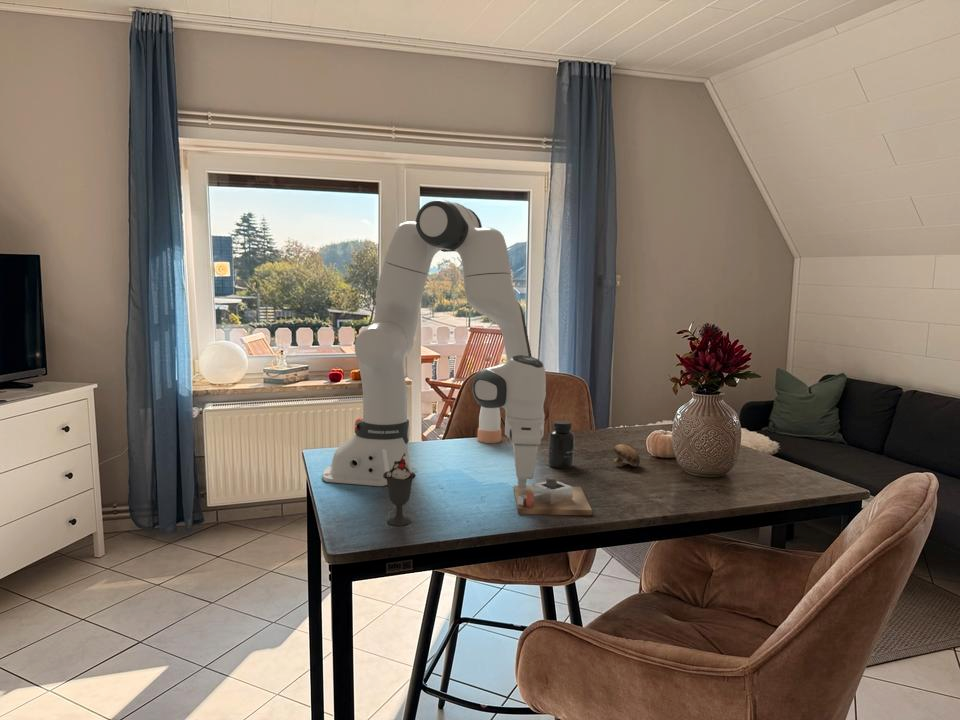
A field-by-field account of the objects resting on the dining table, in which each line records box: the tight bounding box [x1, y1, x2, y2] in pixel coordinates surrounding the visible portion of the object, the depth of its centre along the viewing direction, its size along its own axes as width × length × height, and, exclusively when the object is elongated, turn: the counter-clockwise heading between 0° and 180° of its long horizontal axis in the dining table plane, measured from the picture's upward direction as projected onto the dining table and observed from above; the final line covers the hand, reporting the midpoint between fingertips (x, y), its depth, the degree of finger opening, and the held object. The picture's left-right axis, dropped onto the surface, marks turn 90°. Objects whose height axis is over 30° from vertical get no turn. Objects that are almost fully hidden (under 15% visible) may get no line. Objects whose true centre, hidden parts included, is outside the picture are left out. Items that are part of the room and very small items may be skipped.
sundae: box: [383, 453, 417, 527], centre depth 144 cm, size 7×7×15 cm
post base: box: [513, 476, 593, 516], centre depth 159 cm, size 16×16×6 cm
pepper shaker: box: [477, 405, 502, 444], centre depth 213 cm, size 7×7×19 cm
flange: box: [518, 480, 574, 507], centre depth 156 cm, size 12×6×3 cm, turn 125°
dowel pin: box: [526, 492, 534, 508], centre depth 152 cm, size 2×2×3 cm
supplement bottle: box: [547, 420, 575, 469], centre depth 188 cm, size 7×7×12 cm
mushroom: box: [613, 443, 641, 468], centre depth 190 cm, size 8×8×6 cm
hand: (521, 486), depth 160 cm, fingers closed
